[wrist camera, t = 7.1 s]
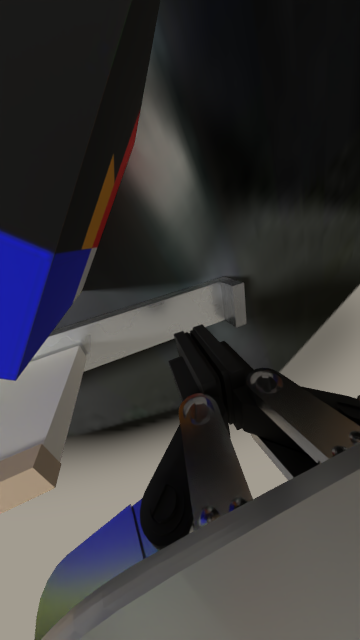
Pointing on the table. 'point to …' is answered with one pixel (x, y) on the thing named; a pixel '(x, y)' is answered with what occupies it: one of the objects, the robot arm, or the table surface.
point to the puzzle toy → (61, 151)
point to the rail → (150, 322)
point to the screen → (36, 424)
